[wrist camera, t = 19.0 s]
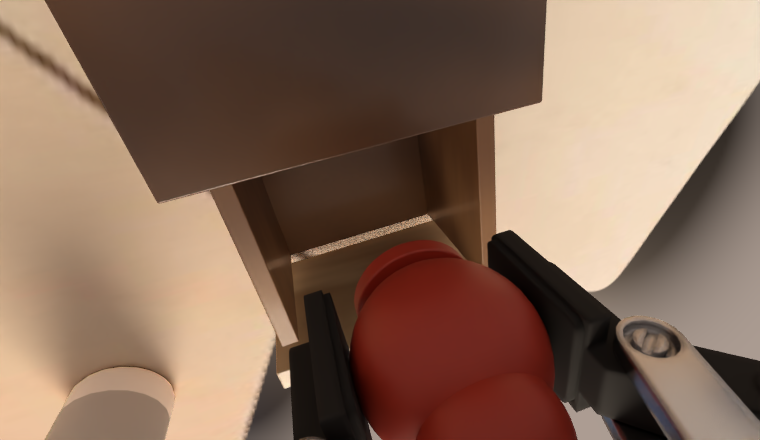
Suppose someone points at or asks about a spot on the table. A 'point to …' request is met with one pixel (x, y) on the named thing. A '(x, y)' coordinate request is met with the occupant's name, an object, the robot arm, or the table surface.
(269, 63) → the cabinet
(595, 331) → the robot arm
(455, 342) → the pear
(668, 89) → the table surface
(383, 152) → the drawer
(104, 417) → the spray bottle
